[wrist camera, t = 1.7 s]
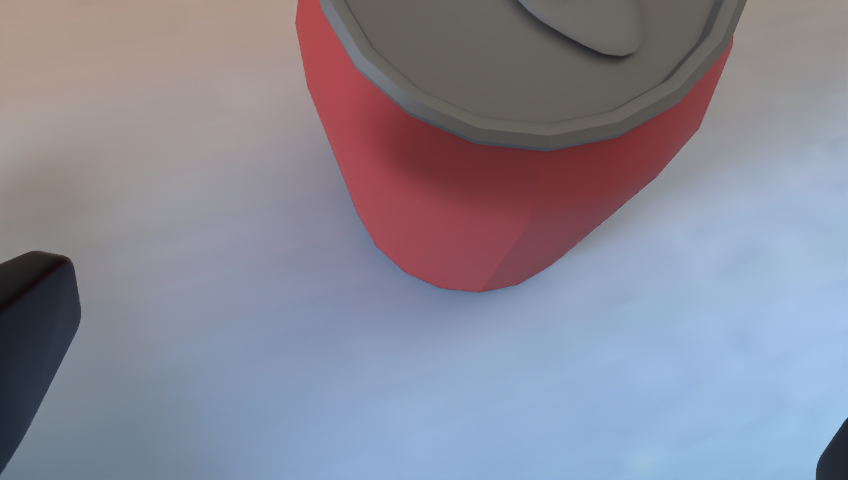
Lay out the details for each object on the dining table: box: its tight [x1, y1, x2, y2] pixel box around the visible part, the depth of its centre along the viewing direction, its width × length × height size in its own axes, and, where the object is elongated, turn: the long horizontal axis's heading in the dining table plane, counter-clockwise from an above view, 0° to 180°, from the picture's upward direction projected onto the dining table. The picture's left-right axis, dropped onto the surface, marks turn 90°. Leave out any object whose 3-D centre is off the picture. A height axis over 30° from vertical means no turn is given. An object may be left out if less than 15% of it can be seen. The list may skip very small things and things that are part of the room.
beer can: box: [295, 0, 747, 292], centre depth 15 cm, size 7×7×12 cm
